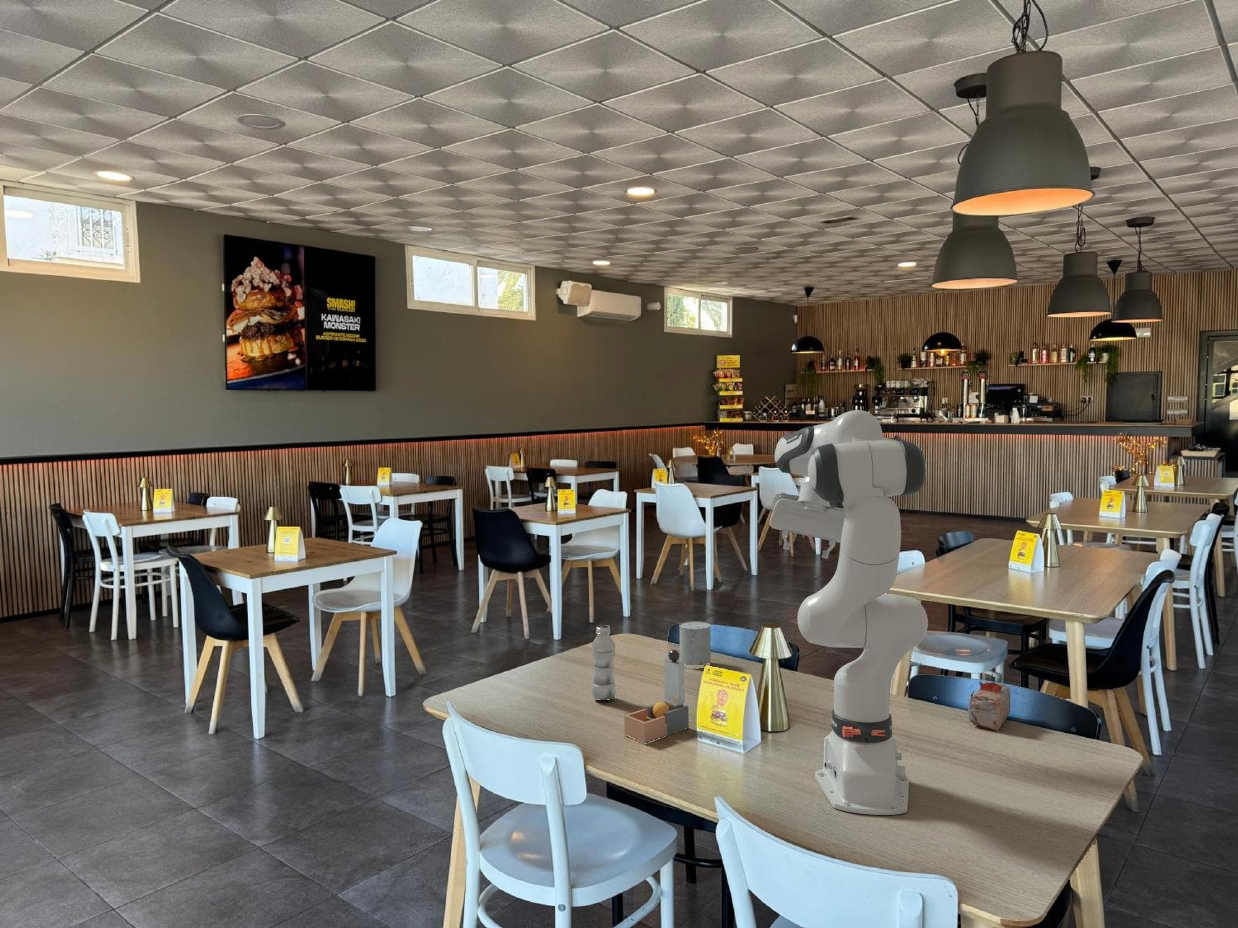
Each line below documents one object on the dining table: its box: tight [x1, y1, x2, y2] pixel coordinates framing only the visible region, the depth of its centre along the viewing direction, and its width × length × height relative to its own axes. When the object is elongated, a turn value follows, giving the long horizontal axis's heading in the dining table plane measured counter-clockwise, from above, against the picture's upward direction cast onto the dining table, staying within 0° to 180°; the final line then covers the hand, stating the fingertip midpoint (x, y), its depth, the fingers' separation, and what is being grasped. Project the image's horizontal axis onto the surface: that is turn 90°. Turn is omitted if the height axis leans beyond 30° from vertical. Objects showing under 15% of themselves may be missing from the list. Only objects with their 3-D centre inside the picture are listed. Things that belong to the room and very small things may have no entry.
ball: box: [653, 701, 669, 718], centre depth 200 cm, size 4×4×4 cm
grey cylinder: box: [679, 620, 711, 667], centre depth 254 cm, size 10×10×12 cm
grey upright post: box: [662, 649, 686, 711], centre depth 203 cm, size 3×5×16 cm
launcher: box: [646, 703, 690, 736], centre depth 202 cm, size 8×7×6 cm
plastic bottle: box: [591, 624, 617, 700], centre depth 223 cm, size 6×7×20 cm
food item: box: [967, 681, 1011, 731], centre depth 203 cm, size 14×8×10 cm, turn 145°
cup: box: [623, 708, 668, 744], centre depth 197 cm, size 7×7×5 cm
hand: (805, 553), depth 204 cm, fingers open, 8 cm apart
